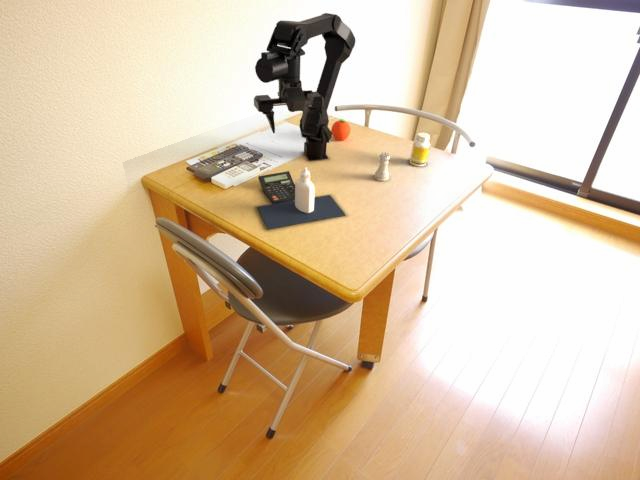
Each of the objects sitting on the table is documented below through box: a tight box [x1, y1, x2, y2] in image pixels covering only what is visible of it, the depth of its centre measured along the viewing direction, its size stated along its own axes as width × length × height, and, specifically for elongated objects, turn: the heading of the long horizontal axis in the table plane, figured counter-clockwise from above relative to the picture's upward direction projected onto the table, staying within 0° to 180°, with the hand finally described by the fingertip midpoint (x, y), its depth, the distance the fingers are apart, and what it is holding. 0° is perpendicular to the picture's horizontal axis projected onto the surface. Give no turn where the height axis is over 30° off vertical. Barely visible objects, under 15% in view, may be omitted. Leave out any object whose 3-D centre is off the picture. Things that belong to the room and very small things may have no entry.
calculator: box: [257, 170, 295, 204], centre depth 114 cm, size 9×12×3 cm
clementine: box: [330, 119, 352, 141], centre depth 145 cm, size 8×7×7 cm
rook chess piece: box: [374, 152, 391, 182], centre depth 122 cm, size 4×4×8 cm
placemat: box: [256, 194, 346, 230], centre depth 107 cm, size 21×10×1 cm, turn 112°
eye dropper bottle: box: [294, 166, 316, 213], centre depth 104 cm, size 4×6×12 cm
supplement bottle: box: [409, 132, 431, 167], centre depth 132 cm, size 5×5×10 cm
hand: (288, 131), depth 117 cm, fingers open, 9 cm apart
